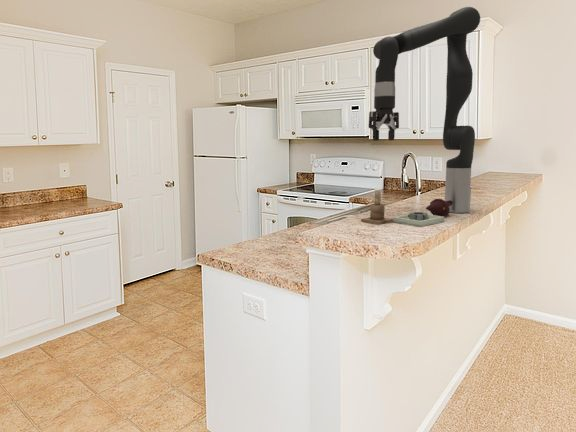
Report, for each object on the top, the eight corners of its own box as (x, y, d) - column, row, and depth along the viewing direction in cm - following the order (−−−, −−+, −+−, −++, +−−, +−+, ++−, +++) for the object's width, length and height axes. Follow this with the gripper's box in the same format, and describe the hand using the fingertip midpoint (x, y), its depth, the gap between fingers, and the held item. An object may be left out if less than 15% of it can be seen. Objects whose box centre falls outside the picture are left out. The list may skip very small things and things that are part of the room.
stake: (376, 218, 169) (376, 188, 167) (393, 221, 162) (394, 190, 161) (360, 221, 164) (361, 190, 162) (378, 224, 158) (379, 192, 156)
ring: (433, 220, 160) (433, 213, 159) (422, 223, 156) (422, 215, 156) (414, 217, 166) (414, 211, 166) (403, 219, 162) (403, 212, 162)
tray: (416, 217, 170) (416, 212, 170) (444, 221, 161) (444, 216, 161) (392, 222, 162) (392, 217, 161) (420, 226, 153) (420, 221, 152)
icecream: (437, 202, 163) (461, 202, 172) (421, 195, 169) (445, 195, 178) (431, 220, 165) (455, 219, 174) (415, 213, 171) (439, 212, 180)
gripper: (379, 93, 162) (378, 140, 165) (405, 95, 171) (404, 140, 173) (363, 95, 168) (363, 140, 170) (389, 97, 176) (388, 140, 179)
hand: (383, 140), depth 172 cm, fingers open, 8 cm apart
